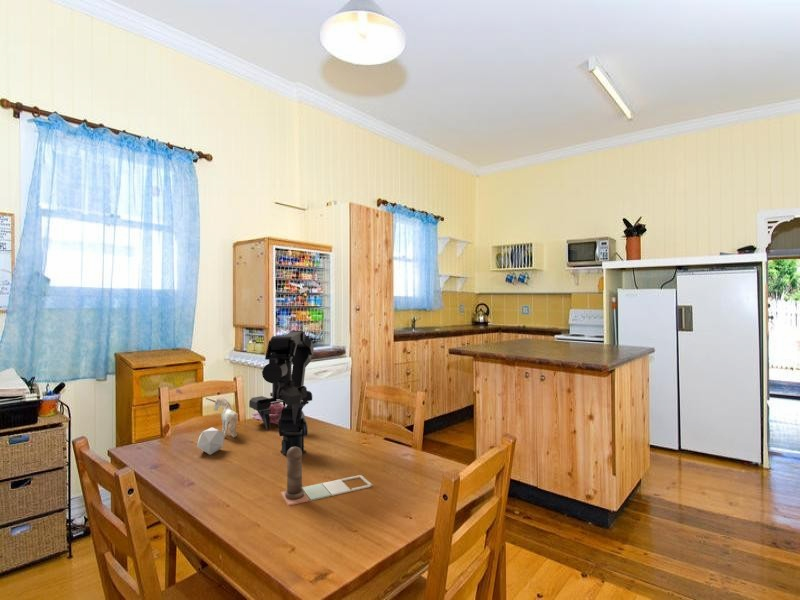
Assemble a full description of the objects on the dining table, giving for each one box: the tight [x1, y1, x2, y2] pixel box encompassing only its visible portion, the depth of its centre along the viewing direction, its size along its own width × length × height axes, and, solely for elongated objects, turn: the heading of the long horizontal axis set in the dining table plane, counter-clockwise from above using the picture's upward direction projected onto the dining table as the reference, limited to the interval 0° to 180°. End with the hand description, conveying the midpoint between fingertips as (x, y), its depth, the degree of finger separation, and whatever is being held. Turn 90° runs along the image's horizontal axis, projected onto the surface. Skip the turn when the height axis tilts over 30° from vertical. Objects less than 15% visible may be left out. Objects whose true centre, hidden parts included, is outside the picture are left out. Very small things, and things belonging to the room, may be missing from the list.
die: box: [196, 426, 225, 456], centre depth 149 cm, size 8×9×10 cm
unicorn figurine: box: [205, 397, 238, 439], centre depth 167 cm, size 7×20×13 cm, turn 51°
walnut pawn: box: [285, 446, 304, 500], centre depth 115 cm, size 5×5×13 cm
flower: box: [252, 402, 286, 426], centre depth 180 cm, size 15×15×10 cm
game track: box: [280, 474, 374, 507], centre depth 120 cm, size 24×8×1 cm, turn 119°
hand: (281, 427), depth 134 cm, fingers open, 9 cm apart
